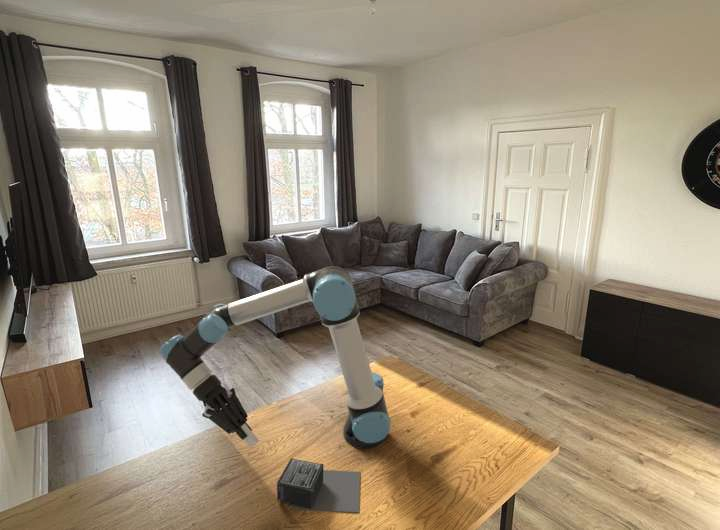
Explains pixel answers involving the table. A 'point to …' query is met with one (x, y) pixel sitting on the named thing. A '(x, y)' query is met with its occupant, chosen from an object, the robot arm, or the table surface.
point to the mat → (336, 493)
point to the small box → (300, 483)
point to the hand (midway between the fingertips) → (255, 444)
